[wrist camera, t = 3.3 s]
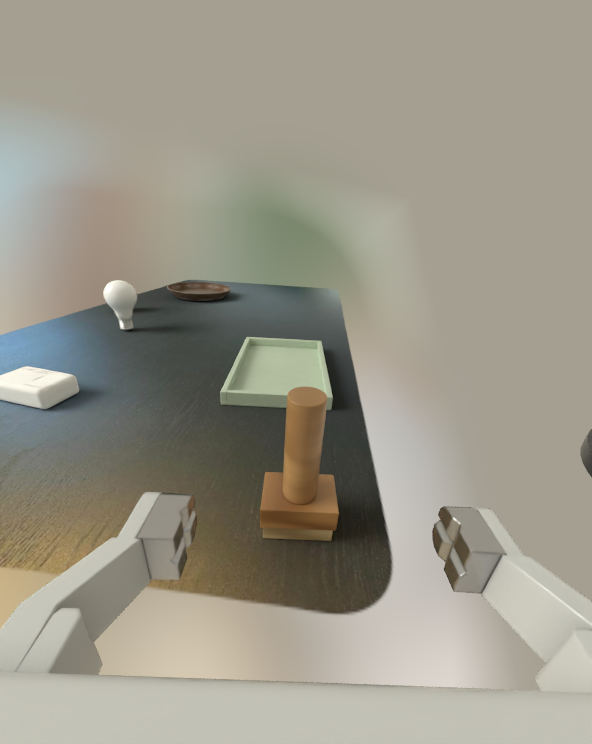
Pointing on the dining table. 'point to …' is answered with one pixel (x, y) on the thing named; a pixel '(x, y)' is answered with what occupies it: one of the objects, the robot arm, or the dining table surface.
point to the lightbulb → (121, 301)
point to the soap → (37, 387)
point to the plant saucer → (199, 291)
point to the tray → (275, 372)
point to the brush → (301, 476)
